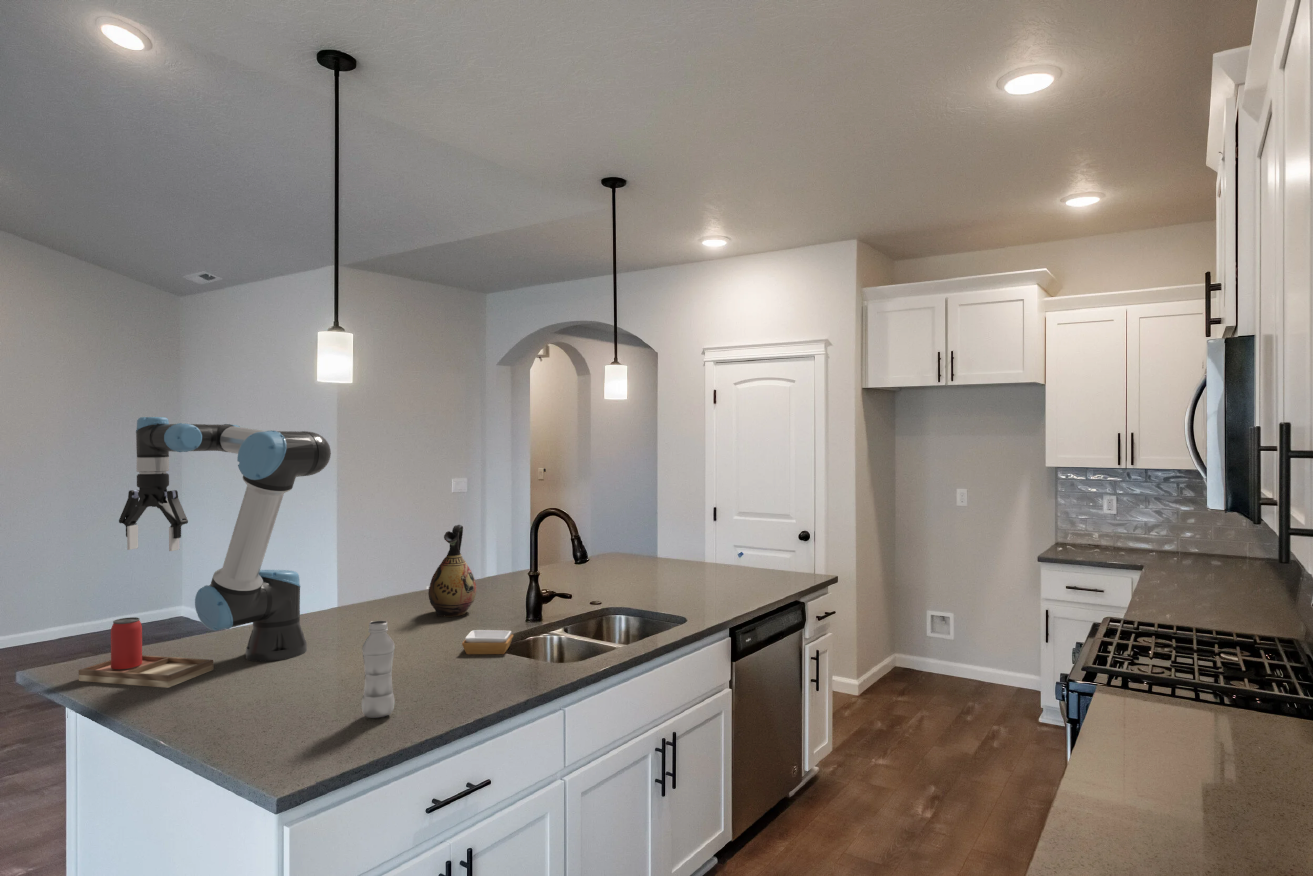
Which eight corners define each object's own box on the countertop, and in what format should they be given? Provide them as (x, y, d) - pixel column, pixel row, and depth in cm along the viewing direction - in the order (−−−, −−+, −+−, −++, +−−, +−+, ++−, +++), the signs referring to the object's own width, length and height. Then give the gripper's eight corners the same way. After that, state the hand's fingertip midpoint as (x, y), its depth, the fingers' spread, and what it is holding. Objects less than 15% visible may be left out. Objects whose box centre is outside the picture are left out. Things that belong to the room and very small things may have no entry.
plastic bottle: (366, 711, 168) (366, 619, 168) (398, 710, 169) (397, 618, 169) (357, 722, 162) (357, 626, 162) (390, 721, 162) (390, 625, 162)
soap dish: (461, 657, 210) (461, 638, 210) (469, 647, 220) (469, 629, 220) (507, 656, 210) (507, 638, 210) (513, 647, 220) (513, 629, 220)
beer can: (126, 672, 192) (126, 623, 192) (104, 670, 193) (103, 622, 193) (148, 664, 198) (148, 617, 198) (127, 662, 199) (126, 616, 199)
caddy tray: (213, 670, 198) (213, 659, 198) (168, 687, 185) (168, 676, 185) (128, 664, 204) (128, 654, 204) (78, 681, 190) (78, 670, 190)
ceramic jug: (469, 621, 251) (469, 528, 251) (422, 621, 251) (422, 528, 251) (482, 609, 268) (482, 522, 268) (437, 609, 268) (437, 522, 268)
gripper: (202, 472, 215) (202, 548, 215) (127, 472, 220) (127, 546, 220) (180, 473, 207) (180, 553, 208) (103, 473, 213) (103, 550, 213)
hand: (153, 549), depth 214 cm, fingers open, 13 cm apart
